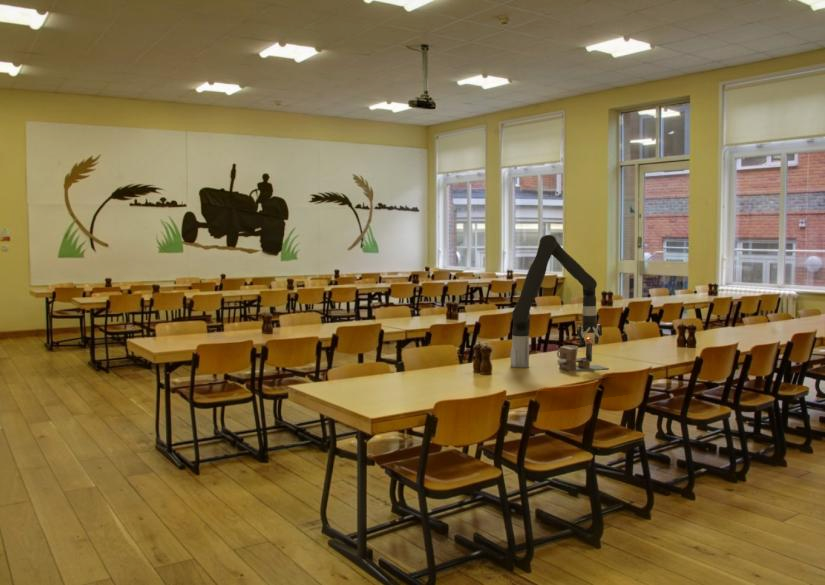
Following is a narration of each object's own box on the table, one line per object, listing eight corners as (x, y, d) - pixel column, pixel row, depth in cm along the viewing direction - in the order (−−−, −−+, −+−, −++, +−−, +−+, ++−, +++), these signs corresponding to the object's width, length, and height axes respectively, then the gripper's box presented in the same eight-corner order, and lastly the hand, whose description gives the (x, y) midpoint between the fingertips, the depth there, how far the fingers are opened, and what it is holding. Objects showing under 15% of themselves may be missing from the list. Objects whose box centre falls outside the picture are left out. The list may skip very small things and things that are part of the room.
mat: (569, 371, 382) (569, 370, 382) (559, 368, 393) (559, 367, 393) (608, 369, 390) (608, 368, 390) (597, 365, 400) (597, 364, 400)
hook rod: (559, 364, 384) (559, 339, 383) (555, 363, 388) (556, 338, 387) (593, 361, 391) (594, 337, 390) (589, 360, 394) (590, 337, 393)
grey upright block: (569, 371, 383) (569, 349, 382) (559, 368, 392) (559, 346, 391) (575, 371, 384) (576, 348, 383) (566, 368, 393) (566, 346, 393)
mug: (573, 365, 401) (574, 347, 400) (553, 363, 409) (553, 345, 408) (580, 363, 408) (580, 346, 407) (559, 361, 415) (559, 344, 415)
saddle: (583, 369, 388) (583, 360, 388) (578, 368, 393) (578, 359, 393) (589, 369, 389) (589, 360, 389) (584, 367, 394) (584, 358, 394)
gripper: (581, 315, 384) (581, 345, 385) (604, 314, 389) (604, 344, 390) (574, 314, 391) (574, 343, 392) (597, 313, 396) (596, 342, 397)
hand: (589, 344), depth 391 cm, fingers open, 8 cm apart
